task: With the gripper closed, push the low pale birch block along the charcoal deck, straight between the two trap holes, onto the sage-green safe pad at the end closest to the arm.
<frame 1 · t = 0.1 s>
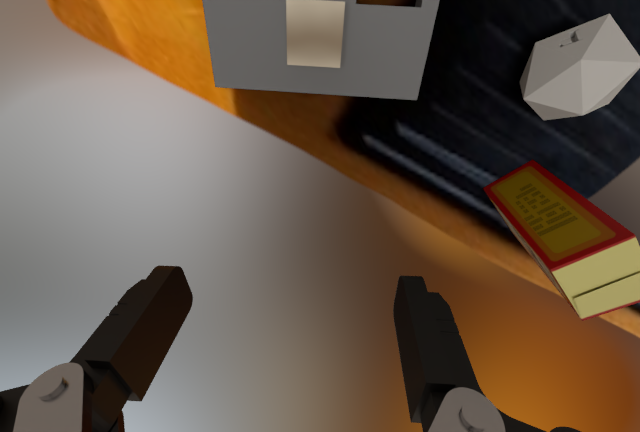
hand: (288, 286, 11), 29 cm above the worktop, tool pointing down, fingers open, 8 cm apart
baking soda box: (520, 197, 40), on the worktop
birch block: (317, 33, 28), point 3 cm above the worktop, touching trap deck
die: (548, 67, 31), on the worktop
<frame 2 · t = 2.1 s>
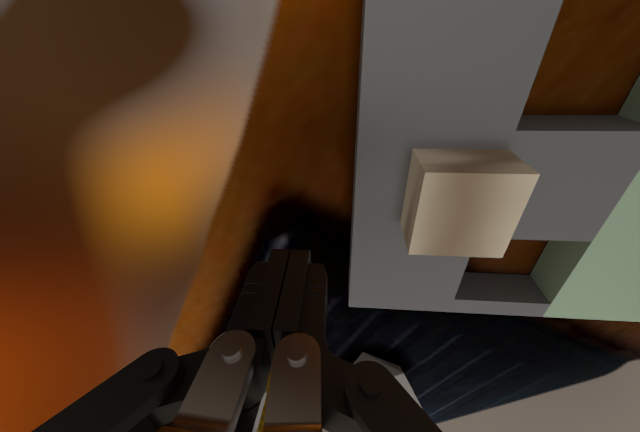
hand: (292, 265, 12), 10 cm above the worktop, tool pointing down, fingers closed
birch block: (449, 189, 17), point 3 cm above the worktop, touching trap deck
die: (374, 363, 34), on the worktop
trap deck: (538, 169, 19), on the worktop
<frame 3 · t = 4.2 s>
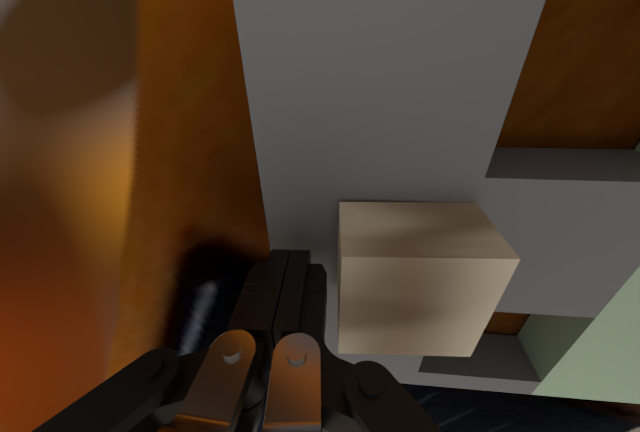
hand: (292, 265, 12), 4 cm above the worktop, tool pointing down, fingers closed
birch block: (397, 253, 12), point 3 cm above the worktop, touching gripper, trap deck
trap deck: (524, 216, 14), on the worktop
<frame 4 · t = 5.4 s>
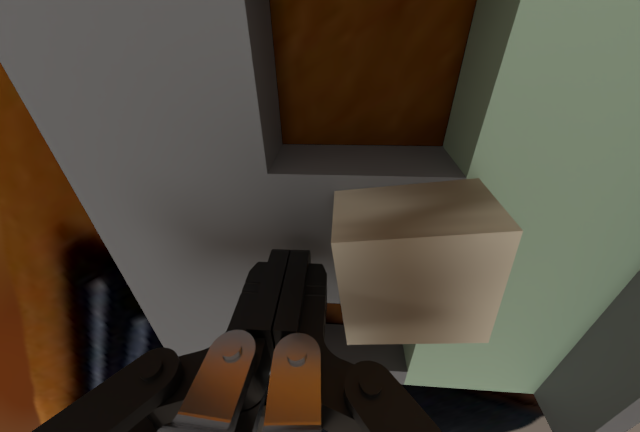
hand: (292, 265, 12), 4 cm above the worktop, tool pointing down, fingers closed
birch block: (403, 239, 12), point 3 cm above the worktop, touching gripper
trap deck: (366, 211, 15), on the worktop
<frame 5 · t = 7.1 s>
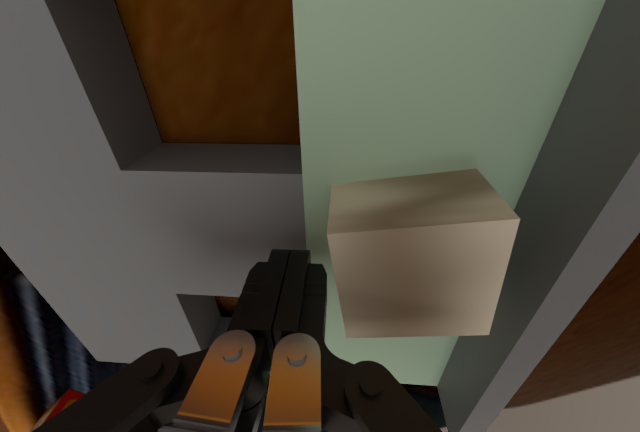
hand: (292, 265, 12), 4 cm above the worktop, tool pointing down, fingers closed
baking soda box: (87, 409, 33), on the worktop
birch block: (401, 232, 12), point 3 cm above the worktop, touching gripper, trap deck
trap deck: (256, 208, 15), on the worktop
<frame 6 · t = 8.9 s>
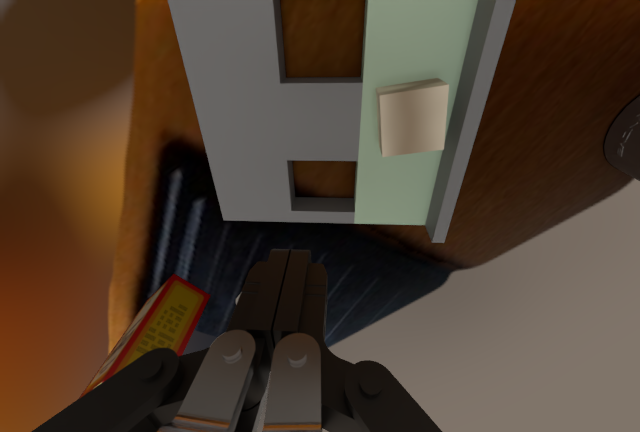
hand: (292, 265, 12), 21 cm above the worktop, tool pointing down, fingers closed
baking soda box: (178, 297, 47), on the worktop
birch block: (406, 113, 25), point 3 cm above the worktop, touching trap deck
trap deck: (328, 115, 29), on the worktop
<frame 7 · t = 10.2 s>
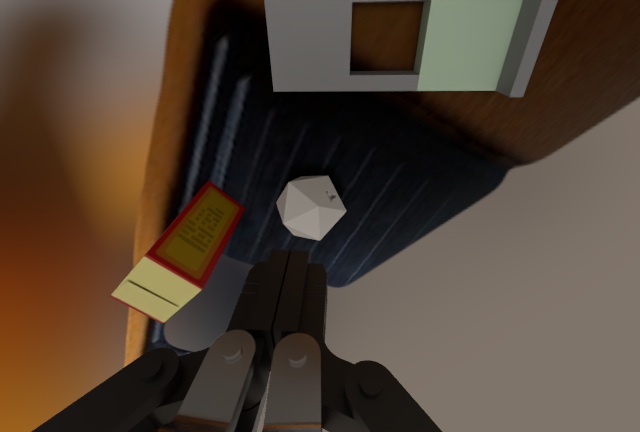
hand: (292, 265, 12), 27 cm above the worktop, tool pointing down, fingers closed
baking soda box: (210, 212, 44), on the worktop
die: (313, 191, 41), on the worktop
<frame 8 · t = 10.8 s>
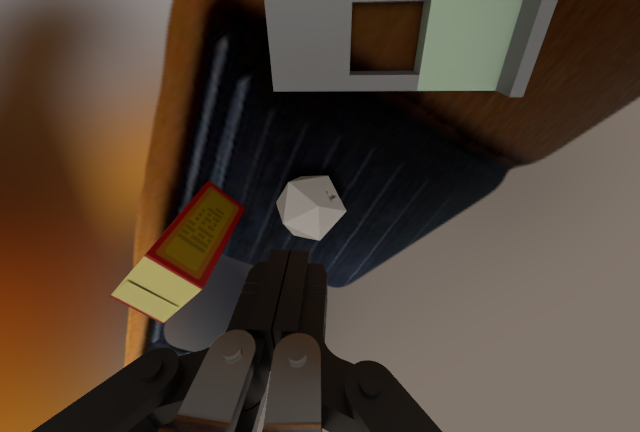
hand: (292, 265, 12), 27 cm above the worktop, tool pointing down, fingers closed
baking soda box: (210, 212, 44), on the worktop
die: (313, 191, 41), on the worktop
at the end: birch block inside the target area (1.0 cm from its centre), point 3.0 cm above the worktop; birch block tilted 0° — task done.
